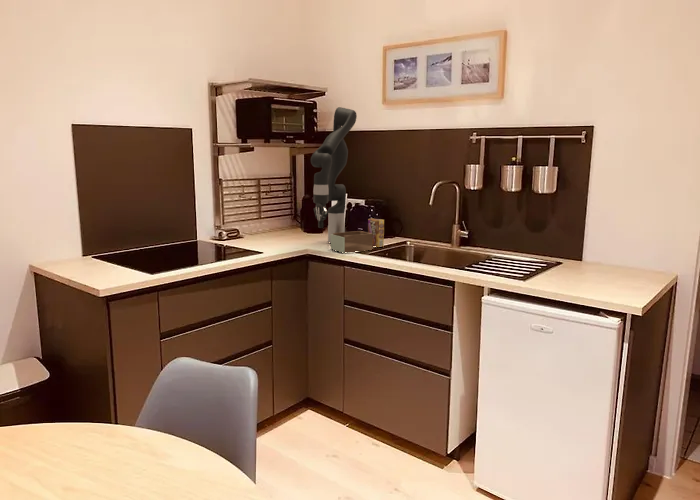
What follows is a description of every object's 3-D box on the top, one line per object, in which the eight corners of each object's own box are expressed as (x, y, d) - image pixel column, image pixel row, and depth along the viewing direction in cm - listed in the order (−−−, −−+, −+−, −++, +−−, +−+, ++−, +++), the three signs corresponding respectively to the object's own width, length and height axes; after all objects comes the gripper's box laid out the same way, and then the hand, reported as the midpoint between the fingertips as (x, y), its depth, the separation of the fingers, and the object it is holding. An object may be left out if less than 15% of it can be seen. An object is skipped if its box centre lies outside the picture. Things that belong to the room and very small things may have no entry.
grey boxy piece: (330, 249, 280) (330, 234, 278) (357, 246, 288) (357, 232, 287) (343, 253, 269) (343, 237, 268) (370, 250, 277) (370, 235, 276)
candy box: (384, 247, 288) (384, 219, 286) (378, 248, 286) (378, 220, 283) (373, 245, 295) (373, 218, 293) (367, 246, 292) (367, 218, 290)
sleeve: (333, 250, 280) (333, 233, 278) (360, 247, 289) (360, 230, 287) (344, 253, 270) (344, 235, 269) (372, 250, 279) (372, 233, 277)
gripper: (333, 194, 263) (333, 229, 267) (321, 192, 274) (321, 225, 278) (320, 195, 259) (319, 230, 263) (308, 192, 271) (308, 226, 274)
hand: (320, 227), depth 270 cm, fingers closed
